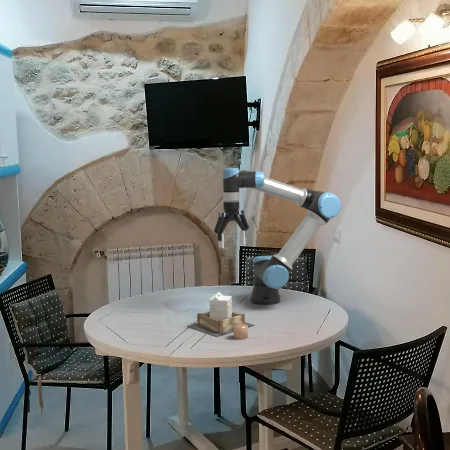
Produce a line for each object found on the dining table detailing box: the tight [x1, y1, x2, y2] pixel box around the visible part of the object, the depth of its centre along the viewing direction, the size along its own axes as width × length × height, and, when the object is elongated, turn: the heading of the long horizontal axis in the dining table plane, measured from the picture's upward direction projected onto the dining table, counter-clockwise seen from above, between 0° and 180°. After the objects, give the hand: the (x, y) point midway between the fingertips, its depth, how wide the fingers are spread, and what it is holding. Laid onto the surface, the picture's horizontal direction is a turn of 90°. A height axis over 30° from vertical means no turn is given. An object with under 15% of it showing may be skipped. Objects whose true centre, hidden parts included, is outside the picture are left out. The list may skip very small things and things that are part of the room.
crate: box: [186, 311, 256, 338], centre depth 267 cm, size 22×20×6 cm
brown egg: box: [232, 324, 249, 340], centre depth 252 cm, size 6×6×5 cm
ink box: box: [208, 291, 233, 320], centre depth 266 cm, size 9×8×13 cm
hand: (232, 245), depth 286 cm, fingers open, 13 cm apart
